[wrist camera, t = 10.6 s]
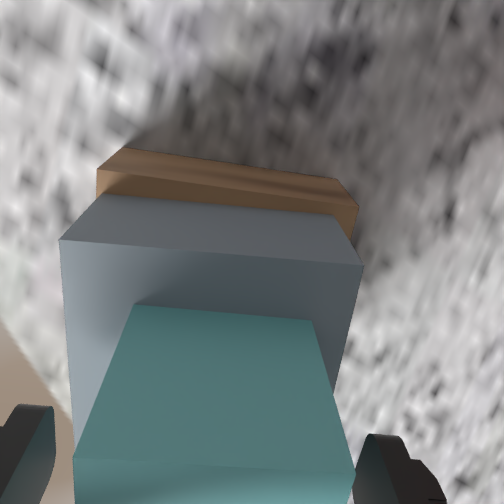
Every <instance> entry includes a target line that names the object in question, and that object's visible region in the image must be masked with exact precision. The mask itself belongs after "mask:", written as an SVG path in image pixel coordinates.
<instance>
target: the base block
mask: <svg viewBox="0 0 504 504" xmlns="http://www.w3.org/2000/svg"><path fill="white" fill-rule="evenodd" d="M102 193H104V194H115V195H126V196H136V197H147V198H158V199H168V200H179V201H190V202H201V203H211V204H222V205H233V206H243V207H254V208H265V209H275V210H286V211H297V212H307V213H318V214H328V215H334V217H335V218H336V220H337V221H338V223H339V225H340V226H341V228H342V230H343V231H344V233H345V235H346V236H347V238H348V240H349V241H350V239H351V236H352V232H353V228H354V225H355V221H356V217H357V214H358V210H359V206H358V205H357V203H356V202H355V201H354V200H353V199H352V197H351V196H350V195H349V194H348V192H347V191H346V190H345V189H344V187H343V186H342V185H341V184H340V182H339V181H338V180H337V179H332V178H325V177H319V176H312V175H305V174H299V173H292V172H285V171H279V170H272V169H265V168H258V167H252V166H245V165H238V164H232V163H225V162H218V161H212V160H205V159H198V158H192V157H185V156H178V155H172V154H165V153H158V152H152V151H145V150H138V149H132V148H125V147H122V148H121V149H120V150H118V151H117V152H116V153H115V154H114V155H113V156H111V157H110V158H109V159H108V160H107V161H106V162H104V163H103V164H102V165H101V166H100V167H99V168H97V186H96V199H97V198H98V197H99V196H100V195H101V194H102Z"/></svg>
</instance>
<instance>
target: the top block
mask: <svg viewBox="0 0 504 504" xmlns="http://www.w3.org/2000/svg"><path fill="white" fill-rule="evenodd" d="M59 249H60V262H61V275H62V288H63V301H64V314H65V327H66V340H67V353H68V366H69V378H70V391H71V404H72V417H73V430H74V443H75V450H76V447H77V445H78V442H79V440H80V437H81V435H82V432H83V430H84V427H85V425H86V422H87V420H88V417H89V415H90V412H91V410H92V407H93V405H94V402H95V400H96V397H97V395H98V392H99V390H100V387H101V384H102V382H103V379H104V377H105V374H106V372H107V369H108V367H109V364H110V362H111V359H112V357H113V354H114V352H115V349H116V347H117V344H118V342H119V339H120V337H121V334H122V332H123V329H124V327H125V324H126V322H127V319H128V317H129V314H130V312H131V309H132V307H133V304H135V305H146V306H157V307H168V308H180V309H191V310H202V311H213V312H224V313H235V314H246V315H257V316H268V317H279V318H290V319H301V320H312V324H313V327H314V330H315V334H316V337H317V341H318V344H319V348H320V351H321V355H322V358H323V361H324V365H325V368H326V372H327V375H328V379H329V382H330V386H331V389H332V392H333V393H334V389H335V384H336V380H337V376H338V372H339V368H340V364H341V360H342V356H343V351H344V347H345V343H346V339H347V335H348V331H349V327H350V322H351V318H352V314H353V310H354V306H355V302H356V298H357V294H358V289H359V285H360V281H361V277H362V273H363V269H364V264H363V262H362V261H361V259H360V258H359V256H358V254H357V253H356V251H355V249H354V248H353V246H352V244H351V243H350V241H349V240H348V238H347V236H346V235H345V233H344V231H343V230H342V228H341V226H340V225H339V223H338V221H337V220H336V218H335V217H334V215H328V214H318V213H307V212H297V211H286V210H275V209H265V208H254V207H243V206H233V205H222V204H211V203H201V202H190V201H179V200H168V199H158V198H147V197H136V196H126V195H115V194H104V193H102V194H101V195H100V196H99V197H98V198H97V199H96V200H95V201H94V202H93V203H92V204H91V205H90V206H89V208H88V209H87V210H86V211H85V212H84V213H83V214H82V215H81V216H80V217H79V218H78V219H77V220H76V222H75V223H74V224H73V225H72V226H71V227H70V228H69V229H68V230H67V231H66V232H65V233H64V234H63V236H62V237H61V238H60V239H59Z"/></svg>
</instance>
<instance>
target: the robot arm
mask: <svg viewBox="0 0 504 504" xmlns="http://www.w3.org/2000/svg"><path fill="white" fill-rule="evenodd" d="M54 423H55V422H54V409H53V407H52V406H40V405H28V404H18V405H17V406H16V407H15V408H14V410H13V412H12V413H11V415H10V416H9V418H8V420H7V421H6V423H5V425H4V426H3V427H1V426H0V504H39V503H40V501H41V498H42V496H43V494H44V491H45V489H46V487H47V485H48V482H49V480H50V477H51V474H52V471H53V467H54V463H55V456H56V442H55V424H54ZM355 472H356V476H355V480H354V483H353V486H352V492H353V499H354V504H447V499H446V497H445V495H444V493H443V491H442V489H441V487H440V485H439V483H438V481H437V479H436V477H435V476H434V475H433V474H432V473H431V472H430V471H429V469H428V468H427V467H426V466H425V465H424V464H423V463H422V461H421V460H415V459H410V456H409V454H408V452H407V449H406V447H405V445H404V442H403V441H402V439H401V438H400V437H399V436H393V435H381V434H368V435H367V437H366V439H365V442H364V445H363V448H362V451H361V454H360V457H359V459H358V462H357V465H356V468H355Z"/></svg>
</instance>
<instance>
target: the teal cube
mask: <svg viewBox="0 0 504 504" xmlns="http://www.w3.org/2000/svg"><path fill="white" fill-rule="evenodd" d="M73 475H74V495H75V504H347V501H348V498H349V495H350V492H351V489H352V486H353V483H354V480H355V476H356V472H355V468H354V465H353V461H352V458H351V454H350V451H349V448H348V444H347V441H346V437H345V434H344V430H343V427H342V423H341V420H340V417H339V413H338V410H337V406H336V403H335V399H334V396H333V392H332V389H331V386H330V382H329V379H328V375H327V372H326V368H325V365H324V361H323V358H322V355H321V351H320V348H319V344H318V341H317V337H316V334H315V330H314V327H313V324H312V320H301V319H290V318H279V317H268V316H257V315H246V314H235V313H224V312H213V311H202V310H191V309H180V308H168V307H157V306H146V305H135V304H133V307H132V309H131V312H130V314H129V317H128V319H127V322H126V324H125V327H124V329H123V332H122V334H121V337H120V339H119V342H118V344H117V347H116V349H115V352H114V354H113V357H112V359H111V362H110V364H109V367H108V369H107V372H106V374H105V377H104V379H103V382H102V384H101V387H100V390H99V392H98V395H97V397H96V400H95V402H94V405H93V407H92V410H91V412H90V415H89V417H88V420H87V422H86V425H85V427H84V430H83V432H82V435H81V437H80V440H79V442H78V445H77V447H76V450H75V452H74V455H73Z"/></svg>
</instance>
